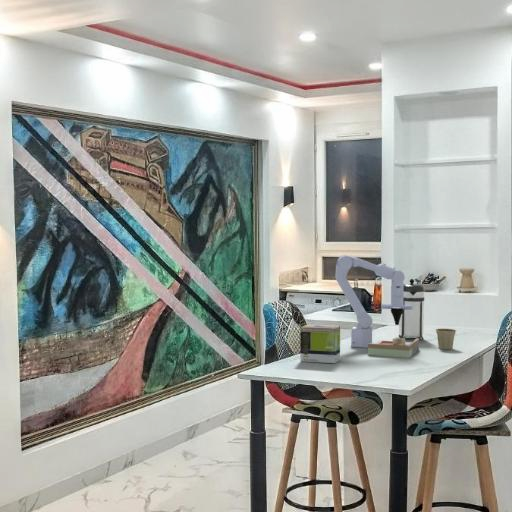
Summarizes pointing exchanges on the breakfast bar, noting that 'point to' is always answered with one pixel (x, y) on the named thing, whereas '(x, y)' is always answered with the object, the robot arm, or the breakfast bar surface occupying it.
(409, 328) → the coffee press
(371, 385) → the breakfast bar surface
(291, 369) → the breakfast bar surface
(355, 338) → the robot arm
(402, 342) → the maple block
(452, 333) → the flower pot
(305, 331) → the tea box
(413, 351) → the box
